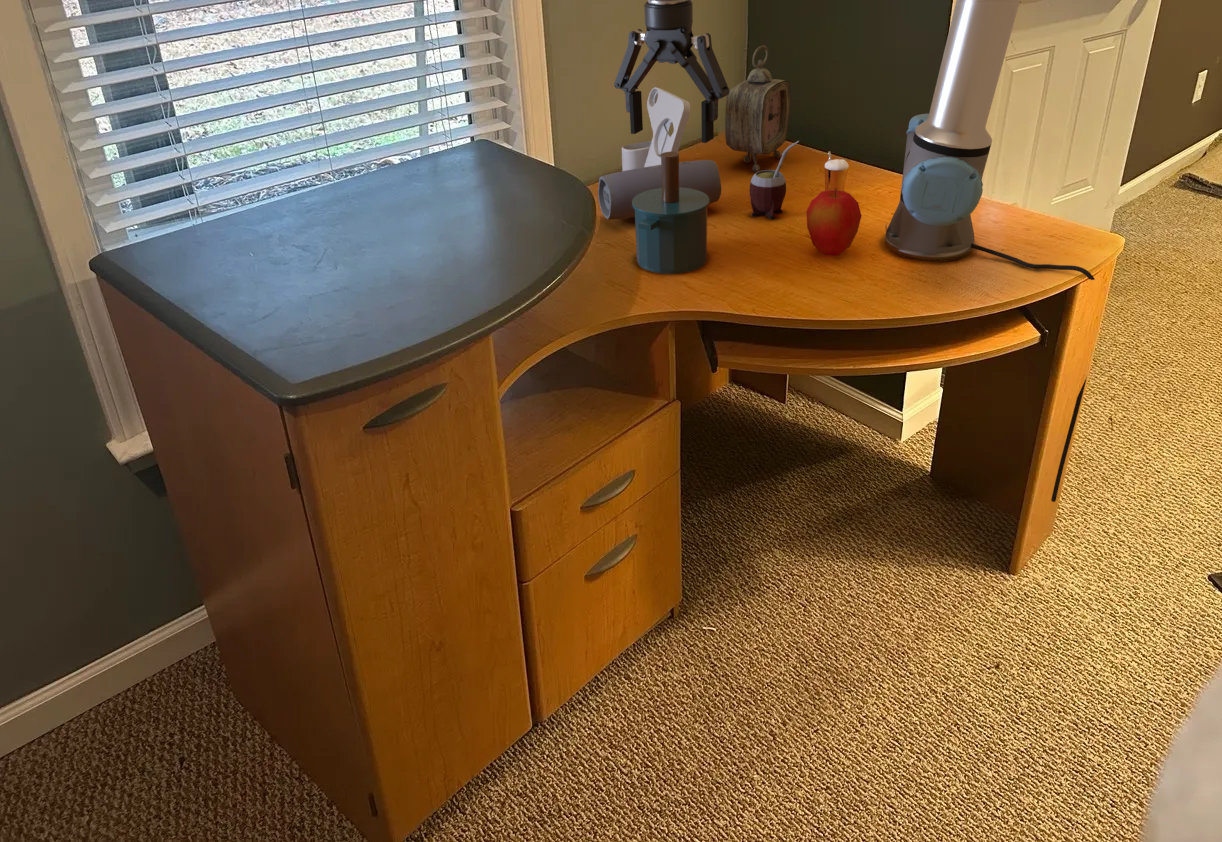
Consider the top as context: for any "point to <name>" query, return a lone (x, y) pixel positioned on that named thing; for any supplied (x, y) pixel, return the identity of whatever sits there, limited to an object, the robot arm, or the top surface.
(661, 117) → the phone holder
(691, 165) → the bluetooth speaker
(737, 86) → the tabletop clock
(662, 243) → the pot
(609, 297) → the top surface
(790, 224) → the top surface
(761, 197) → the mate gourd
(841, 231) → the apple
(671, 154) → the lid
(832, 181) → the milkshake
